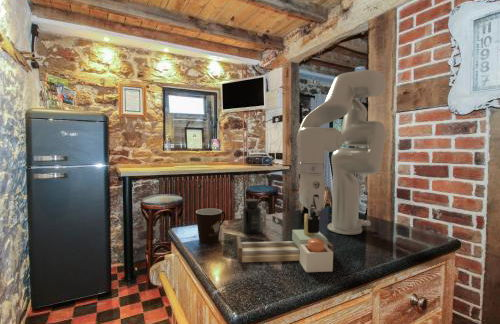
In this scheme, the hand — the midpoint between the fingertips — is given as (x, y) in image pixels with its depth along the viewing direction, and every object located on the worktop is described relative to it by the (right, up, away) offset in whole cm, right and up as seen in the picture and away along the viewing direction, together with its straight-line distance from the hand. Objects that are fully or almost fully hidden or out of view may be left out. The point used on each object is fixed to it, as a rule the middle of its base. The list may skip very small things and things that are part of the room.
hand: (309, 228), depth 82 cm
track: (-8, -8, 0) cm, 11 cm away
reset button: (0, -4, -9) cm, 10 cm away
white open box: (0, -8, -8) cm, 12 cm away
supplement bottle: (-17, -6, +20) cm, 27 cm away
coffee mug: (-30, -7, +10) cm, 33 cm away
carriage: (0, -5, 0) cm, 5 cm away
